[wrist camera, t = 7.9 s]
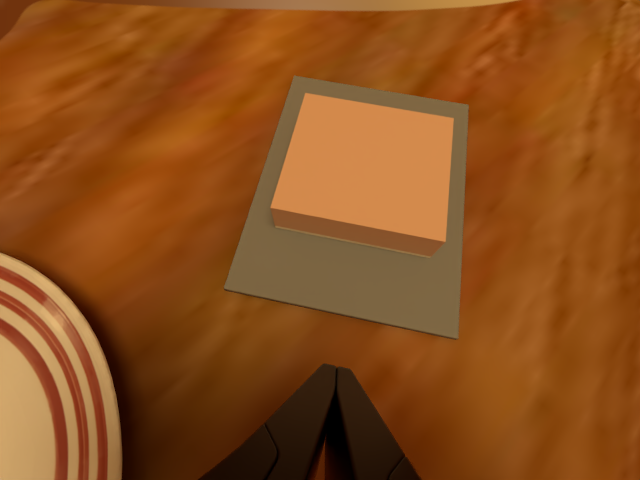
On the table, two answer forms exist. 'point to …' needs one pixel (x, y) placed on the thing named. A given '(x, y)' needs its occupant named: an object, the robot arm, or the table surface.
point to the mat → (350, 258)
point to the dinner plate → (52, 385)
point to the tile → (367, 176)
